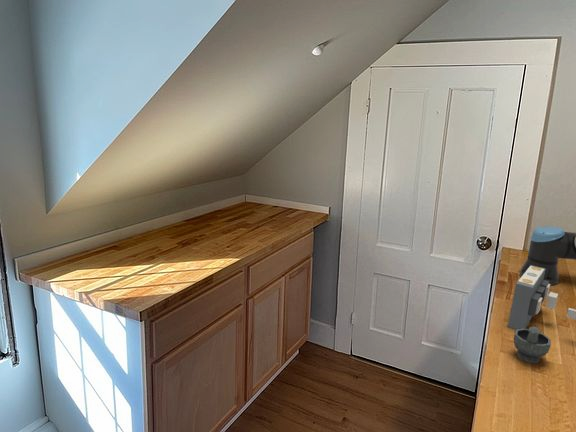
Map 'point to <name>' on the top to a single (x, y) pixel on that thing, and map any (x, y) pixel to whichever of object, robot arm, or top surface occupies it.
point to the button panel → (527, 297)
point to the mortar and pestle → (531, 344)
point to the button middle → (552, 300)
